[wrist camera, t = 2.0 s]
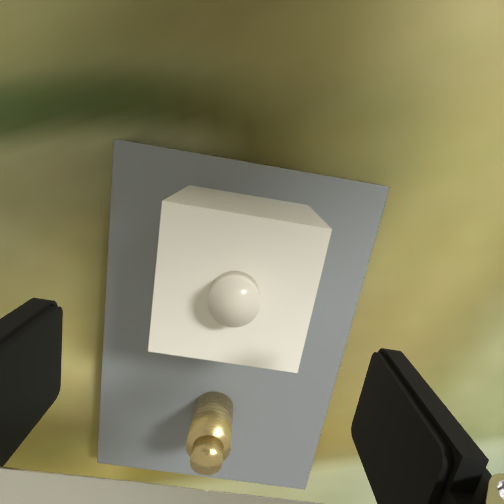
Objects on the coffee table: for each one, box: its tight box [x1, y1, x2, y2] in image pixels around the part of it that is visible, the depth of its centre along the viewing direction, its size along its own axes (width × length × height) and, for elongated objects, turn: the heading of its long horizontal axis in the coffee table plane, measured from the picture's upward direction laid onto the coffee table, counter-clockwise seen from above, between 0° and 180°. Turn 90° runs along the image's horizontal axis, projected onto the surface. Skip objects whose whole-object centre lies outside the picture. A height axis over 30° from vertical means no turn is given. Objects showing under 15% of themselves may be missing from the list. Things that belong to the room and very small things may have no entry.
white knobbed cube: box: [148, 185, 332, 373], centre depth 17 cm, size 7×7×7 cm
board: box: [97, 139, 390, 489], centre depth 22 cm, size 22×15×1 cm
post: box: [186, 391, 234, 475], centre depth 21 cm, size 3×3×4 cm
